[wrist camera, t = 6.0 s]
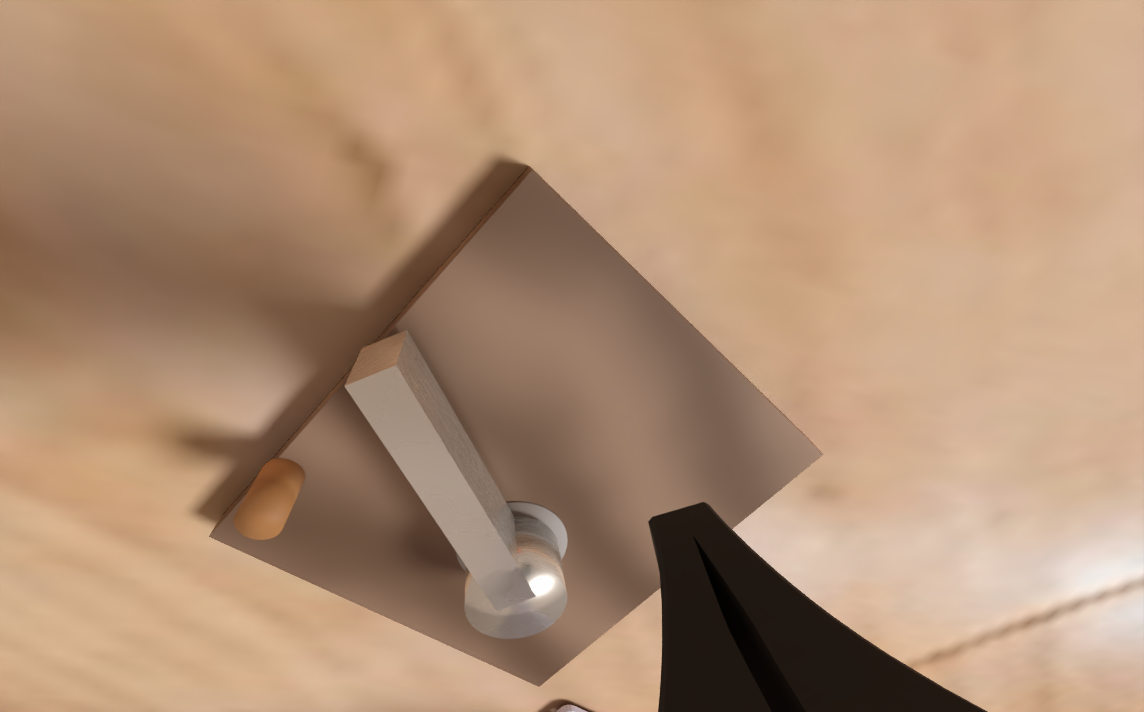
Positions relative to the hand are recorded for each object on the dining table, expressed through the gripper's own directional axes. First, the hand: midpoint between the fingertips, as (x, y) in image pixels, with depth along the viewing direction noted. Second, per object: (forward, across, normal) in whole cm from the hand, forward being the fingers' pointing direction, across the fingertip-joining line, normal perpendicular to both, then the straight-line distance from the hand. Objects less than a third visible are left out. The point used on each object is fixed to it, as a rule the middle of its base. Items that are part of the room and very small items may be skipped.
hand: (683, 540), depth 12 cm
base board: (+8, +4, +4) cm, 10 cm away
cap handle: (+7, +6, +2) cm, 9 cm away
